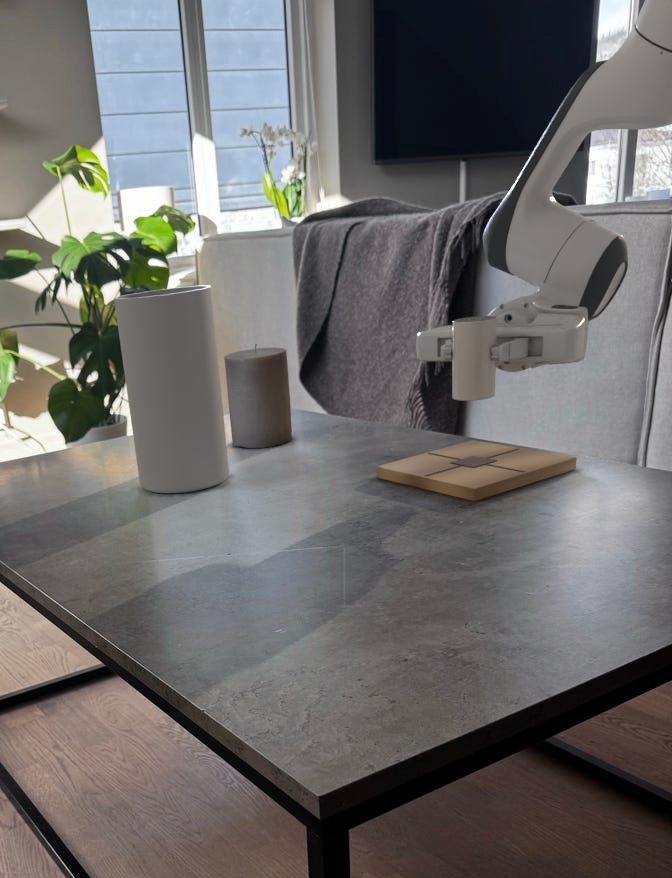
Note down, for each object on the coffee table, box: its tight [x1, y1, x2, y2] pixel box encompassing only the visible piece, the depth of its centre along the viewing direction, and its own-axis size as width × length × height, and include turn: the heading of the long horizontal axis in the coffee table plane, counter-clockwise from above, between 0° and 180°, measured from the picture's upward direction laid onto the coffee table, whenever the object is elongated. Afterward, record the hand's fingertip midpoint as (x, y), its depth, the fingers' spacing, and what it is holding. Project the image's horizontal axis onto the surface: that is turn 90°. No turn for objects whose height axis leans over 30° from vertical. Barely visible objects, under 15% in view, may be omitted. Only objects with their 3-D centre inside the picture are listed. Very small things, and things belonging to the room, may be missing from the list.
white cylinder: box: [451, 315, 497, 402], centre depth 109 cm, size 5×5×9 cm
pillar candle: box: [223, 343, 293, 449], centre depth 142 cm, size 10×10×15 cm
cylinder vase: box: [113, 285, 230, 494], centre depth 122 cm, size 12×12×25 cm
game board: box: [375, 439, 577, 502], centre depth 115 cm, size 17×17×2 cm
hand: (471, 353), depth 108 cm, fingers closed on white cylinder, 5 cm apart
